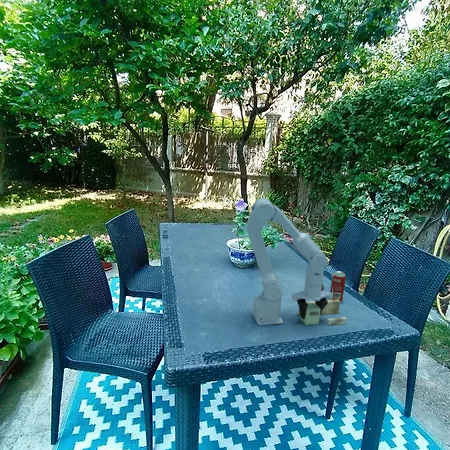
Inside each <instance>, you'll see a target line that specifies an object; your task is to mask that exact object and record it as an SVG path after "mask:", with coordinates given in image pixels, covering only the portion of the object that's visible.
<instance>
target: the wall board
mask: <svg viewBox="0 0 450 450" xmlns="http://www.w3.org/2000/svg"><path fill="white" fill-rule="evenodd" d="M326 300H327V301H328V304H327V305H326V306H325V307H324V308H323V310H322V312H321V314H320V316H321V315H331V314H334V315H335V314H339V311H340V305H341V304H340V303H341V302H340V301H339V300H338V299H337V300H330V299H326ZM306 303H315V300H311V301H309V300H308V301H306ZM297 314H298V316H299V317H300V309H299V308H298V313H297ZM346 324H347V317H345V316H342V317H331V318H327V319H326V325H327V326H338V325H346Z"/></svg>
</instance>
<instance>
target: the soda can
mask: <svg viewBox="0 0 450 450" xmlns="http://www.w3.org/2000/svg"><path fill="white" fill-rule="evenodd" d="M346 277H347V276H346V273H344V272H343V271H338V270H337V271H333V273H332V274H331V283H330V291H329V292H331V293H332V299H329V300H337V299H338V300H339V301H340V303H342V302H343V300H344V294H345V287H346V286H345V285H346Z"/></svg>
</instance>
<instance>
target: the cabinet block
mask: <svg viewBox="0 0 450 450" xmlns="http://www.w3.org/2000/svg"><path fill="white" fill-rule="evenodd" d="M307 304H308V306H307V309H306V315H305V319H302V317H301V316H299V318H300V320H301V322H303V323H304V325H306V326H308V325H310V326H312V325H319V323H320V317H321V315H320V308H319V307H318V306H317V305H316V304H315V303H307Z"/></svg>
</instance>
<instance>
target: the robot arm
mask: <svg viewBox="0 0 450 450" xmlns="http://www.w3.org/2000/svg"><path fill="white" fill-rule="evenodd" d="M247 218H248V219H247V222H246V226H245V227H246V232H247V235H248V238H249V241H250V244H251V247H252V249H253V253H254V255H255V260H256V262H257V263H256V264H257V265H258V269H259V272H260V275H261V278H262V279H261V280H262V281H261V282H262V283H261V285H262V286H263V287H262V288H263V290H262V291H261V294H260V295H258V296H254V299H253V306H252V307H253V309H252V313H251V314H252V316H253V318H254V320H255V323H257V325H258V326H266V325H280V324H284V320H283V319H282V317H281V305H282V296H283V293H284V292H283V288H282V287H281V283H280V279H279V277H278V276H277V275H276V274H275V271H274V268H273V266H272V262H271V259H270V256H269V253H268V249H267V247H266V243H265V240H264V237H263V234H262V229H263V227H264V226H265V225H266V224H267V223H268V222H269V221H270V222H271V223H275V224H279V226H280V227H281V228H283V230H284V231H285V232H286V233H287V234H288V235H289V236H290V237H291V239H292V245H293V246H294V248H295V249H297V251H299V252H300V254H301V255H302V256H303V257H304V258H306V259H305V260H307V261H308V262H307V263H306V264H307V266H306V272H305V280H304V289H303V291H299V292H297V293H292V294H291V299H292V301H294V302H297V305H298V310H299V309H300V316H301V317H302V319H305V315H306V309H307V306H308V304H307V303H306V302H307V300H311V301H315V304H316V305H317V306H318V307H319V308H320V314H321V312H322V310H323V308H324V307H325V306H326V305H327V304H328V301H327V300H330V299H332V293H331V292H330V291H324V290H322V291H321V289H322V283H323V282H322V281H324V280H323V279H324V272H325V271H324V270H325V267H326V266H327V265H328V258H327V255H326V254H325V253H324V252H323V250H321V247H320V245H317V244H316V243H315V242H314V240H312V238H313V237H312V236H311V235H310V234H307V233H306V232H300V231H299V230H298V229H297V227H296V226H295V225H294V224H293V223H292V222H291V220H290V219H289V218H288V217H287V215H286V214H285V213H284V212H283V211H282V210H281V209H280V208H279V207H277V206H276V205H275V204H272V201H270V199H268V198H267V197H261V198H258V199H256V201H255V202H254V204H253V205H252V206H251V209H250V212H249V216H248V217H247ZM321 315H322V314H321ZM300 316H299V317H300Z"/></svg>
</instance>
